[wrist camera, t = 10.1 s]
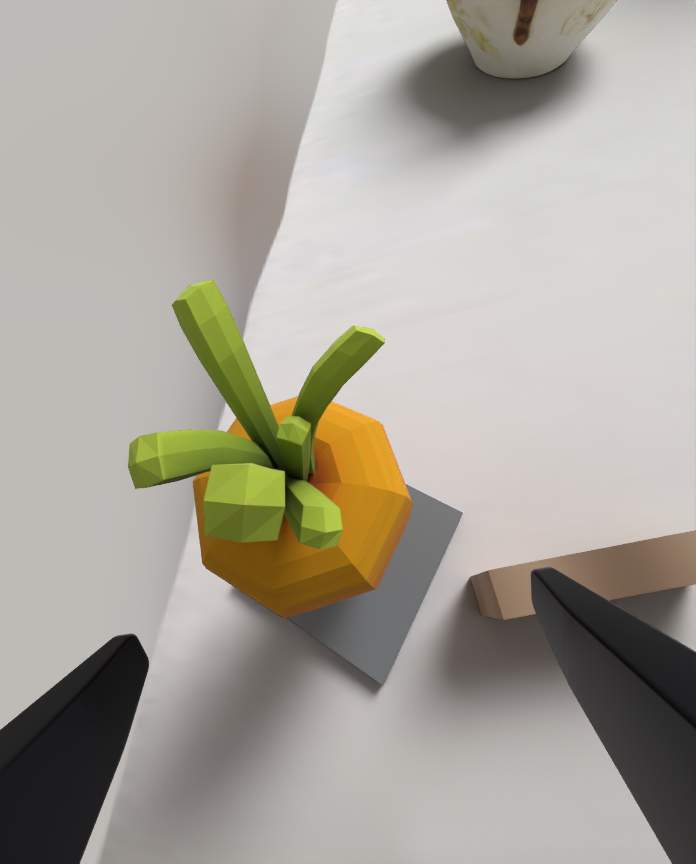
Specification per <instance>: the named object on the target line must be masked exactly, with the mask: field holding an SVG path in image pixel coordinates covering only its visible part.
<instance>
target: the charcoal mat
mask: <svg viewBox="0 0 696 864" xmlns="http://www.w3.org/2000/svg"><path fill="white" fill-rule="evenodd" d="M405 485H406V484H405ZM406 487H407V490H408V493H409V495H410V498H411V501H412V504H413V507H412V511H411V514H410V518H409V522H408V524H407V526H406V528H405V530H404V533H403V535H402V537H401V539H400V541H399V543H398V545H397V548H396V550H395V552H394V554H393V556H392V558H391V560H390V563H389V565H388V567H387V569H386V571H385V573H384V575H383V578H382V580H381V582H380V584H379V586H378V588H377V589H375V590H372V591H369V592H366V593H363V594H360V595H357V596H354V597H351V598H348V599H345V600H342V601H339V602H336V603H333V604H330V605H327V606H324V607H321V608H318V609H315V610H312V611H309V612H305V613H302V614H298V615H294V616H290V617H287V619H289V620H290V621H291V622H293V623H294V624H296V625H297V626H299V627H300V628H301V629H303V630H304V631H306V632H307V633H309V634H310V635H311V636H313V637H314V638H316V639H317V640H319V641H320V642H321V643H323V644H324V645H326V646H327V647H329V648H330V649H331V650H333V651H334V652H336V653H337V654H339V655H340V656H341V657H343V658H344V659H346V660H347V661H349V662H350V663H351V664H353V665H354V666H356V667H357V668H358V669H360V670H361V671H363V672H364V673H366V674H367V675H368V676H370V677H371V678H373V679H374V680H376V681H377V682H378V683H380V684H381V685H384V683H385V681H386V679H387V677H388V674H389V672H390V670H391V668H392V666H393V664H394V661H395V659H396V657H397V655H398V653H399V651H400V648H401V646H402V644H403V642H404V640H405V638H406V635H407V633H408V631H409V629H410V627H411V625H412V622H413V620H414V618H415V616H416V614H417V612H418V609H419V607H420V605H421V603H422V601H423V599H424V596H425V594H426V592H427V590H428V588H429V586H430V583H431V581H432V579H433V577H434V575H435V573H436V570H437V568H438V566H439V564H440V562H441V560H442V557H443V555H444V553H445V551H446V549H447V547H448V544H449V542H450V540H451V538H452V536H453V534H454V531H455V529H456V527H457V525H458V523H459V521H460V518H461V516H462V514H463V513H462V512H460V511H458V510H456V509H454V508H452V507H450V506H448V505H446V504H444V503H442V502H440V501H438V500H436V499H434V498H432V497H430V496H428V495H426V494H424V493H422V492H420V491H418V490H416V489H414V488H412V487H410V486H408V485H406Z"/></svg>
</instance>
